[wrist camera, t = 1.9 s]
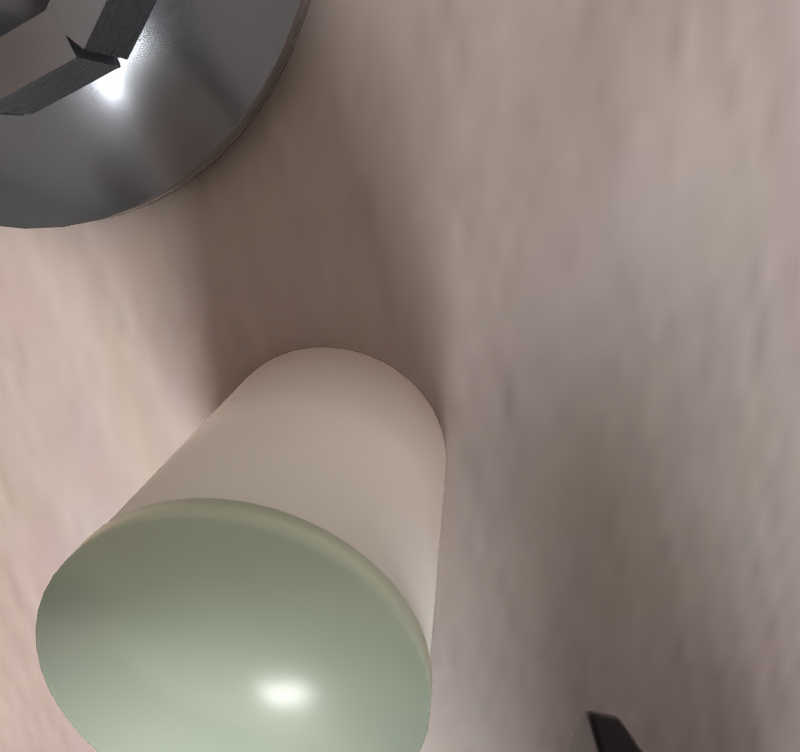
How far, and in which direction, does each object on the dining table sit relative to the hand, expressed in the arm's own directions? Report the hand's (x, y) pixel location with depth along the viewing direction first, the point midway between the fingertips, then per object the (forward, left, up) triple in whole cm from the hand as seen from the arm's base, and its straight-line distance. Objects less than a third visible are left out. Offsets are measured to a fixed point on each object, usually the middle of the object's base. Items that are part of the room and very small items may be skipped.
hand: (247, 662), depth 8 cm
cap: (0, 0, -6) cm, 6 cm away
